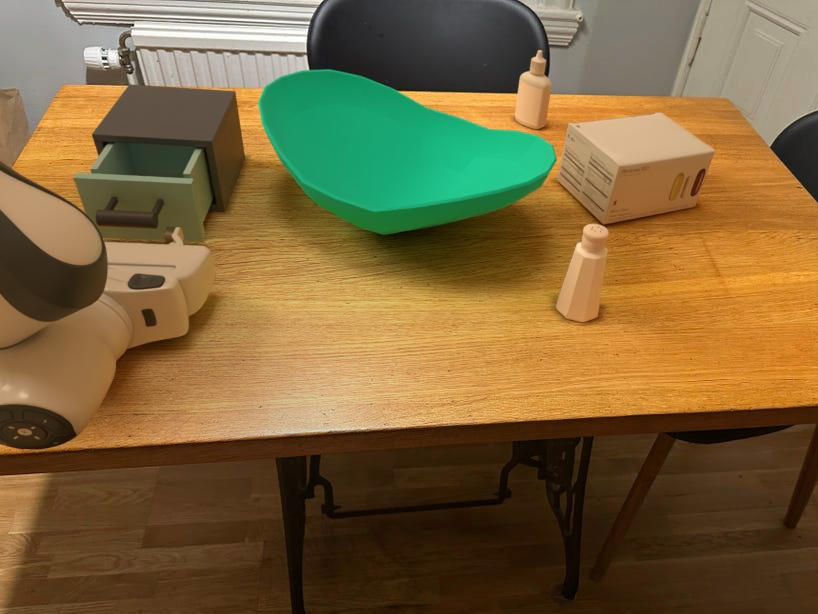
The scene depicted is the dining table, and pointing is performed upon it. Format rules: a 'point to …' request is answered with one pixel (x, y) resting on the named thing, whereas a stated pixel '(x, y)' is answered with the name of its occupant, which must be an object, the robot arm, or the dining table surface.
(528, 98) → the eye dropper bottle
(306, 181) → the table top decor
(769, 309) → the dining table surface
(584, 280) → the salt shaker
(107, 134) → the mini chest of drawers
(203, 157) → the drawer
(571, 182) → the supplement box
